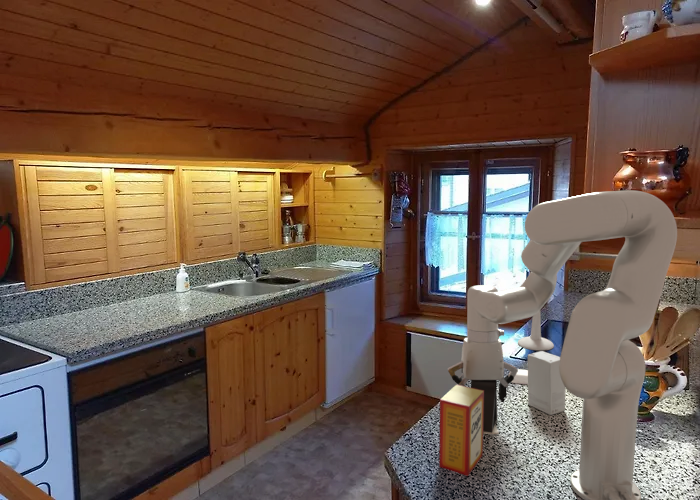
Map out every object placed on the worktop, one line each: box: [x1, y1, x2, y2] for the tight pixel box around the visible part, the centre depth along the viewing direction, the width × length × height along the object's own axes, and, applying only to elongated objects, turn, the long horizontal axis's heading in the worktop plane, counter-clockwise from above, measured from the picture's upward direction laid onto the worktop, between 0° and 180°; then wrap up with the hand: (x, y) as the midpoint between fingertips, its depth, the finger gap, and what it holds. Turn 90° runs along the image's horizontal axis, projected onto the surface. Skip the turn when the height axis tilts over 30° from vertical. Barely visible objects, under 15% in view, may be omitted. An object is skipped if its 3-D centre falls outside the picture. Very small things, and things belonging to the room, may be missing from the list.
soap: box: [511, 368, 528, 385], centre depth 155 cm, size 9×7×3 cm
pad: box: [483, 425, 499, 435], centre depth 127 cm, size 10×7×1 cm
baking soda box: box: [438, 383, 484, 477], centre depth 110 cm, size 10×6×16 cm
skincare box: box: [527, 350, 566, 416], centre depth 135 cm, size 8×6×15 cm
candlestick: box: [517, 309, 555, 352], centre depth 186 cm, size 13×13×30 cm
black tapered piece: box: [470, 380, 498, 433], centre depth 126 cm, size 9×6×12 cm, turn 154°
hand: (482, 400), depth 126 cm, fingers open, 9 cm apart
